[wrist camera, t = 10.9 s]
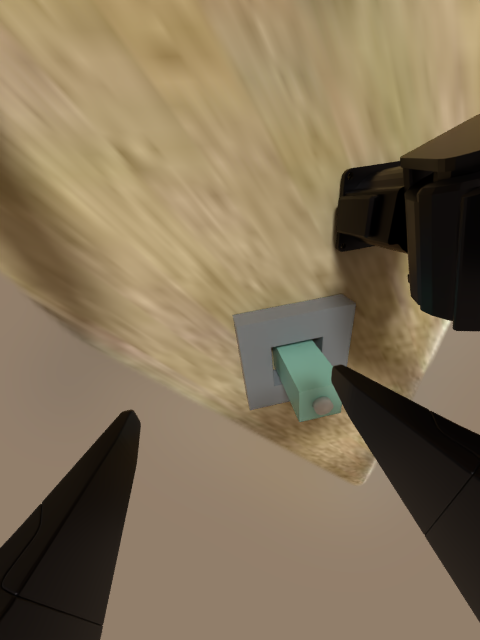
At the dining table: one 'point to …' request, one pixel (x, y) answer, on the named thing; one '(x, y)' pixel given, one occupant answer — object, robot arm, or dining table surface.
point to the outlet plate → (290, 341)
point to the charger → (307, 380)
